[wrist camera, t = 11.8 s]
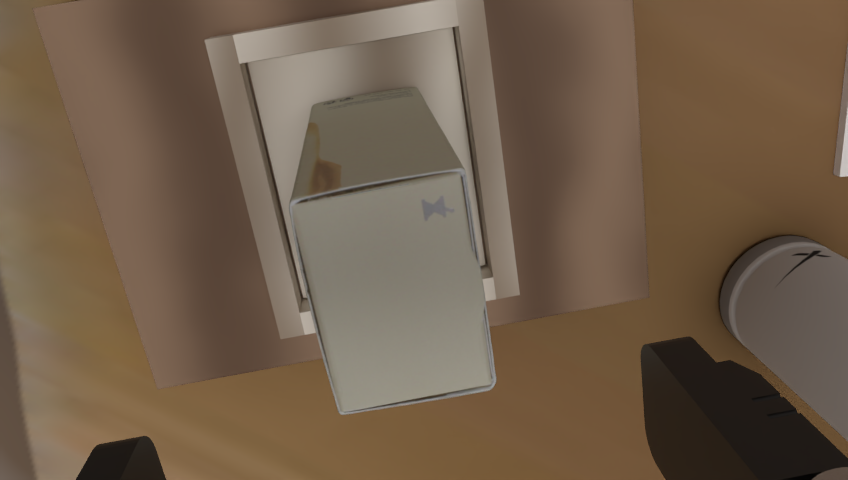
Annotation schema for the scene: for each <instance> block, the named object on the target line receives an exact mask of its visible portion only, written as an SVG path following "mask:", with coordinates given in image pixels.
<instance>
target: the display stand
mask: <svg viewBox="0 0 848 480" xmlns="http://www.w3.org/2000/svg"><path fill="white" fill-rule="evenodd" d="M32 9H33V12H34V15H35V18H36V21H37V24H38V27H39V31H40V34H41V37H42V40H43V43H44V46H45V49H46V52H47V55H48V58H49V61H50V64H51V67H52V70H53V73H54V76H55V79H56V82H57V85H58V88H59V91H60V94H61V97H62V100H63V103H64V106H65V109H66V113H67V116H68V119H69V122H70V125H71V128H72V131H73V134H74V137H75V140H76V143H77V146H78V149H79V152H80V155H81V158H82V161H83V164H84V167H85V170H86V173H87V176H88V179H89V182H90V185H91V188H92V191H93V195H94V198H95V201H96V204H97V207H98V210H99V213H100V216H101V219H102V222H103V225H104V228H105V231H106V234H107V237H108V240H109V243H110V246H111V249H112V252H113V255H114V258H115V261H116V264H117V267H118V270H119V273H120V277H121V280H122V283H123V286H124V289H125V292H126V295H127V298H128V301H129V304H130V307H131V310H132V313H133V316H134V319H135V322H136V325H137V328H138V331H139V334H140V337H141V340H142V343H143V346H144V349H145V352H146V355H147V359H148V362H149V365H150V368H151V371H152V374H153V377H154V380H155V383H156V386H157V389H162V388H167V387H172V386H178V385H183V384H188V383H194V382H199V381H205V380H210V379H215V378H221V377H226V376H231V375H237V374H242V373H247V372H253V371H258V370H263V369H269V368H274V367H279V366H285V365H290V364H296V363H301V362H306V361H312V360H317V359H322V358H323V357H322V353H321V350H320V346H319V343H318V339H317V335H316V331H315V327H314V323H313V319H312V315H311V312H310V308H309V303H308V299H307V296H306V292H305V287H304V283H303V279H302V275H301V270H300V266H299V261H298V256H297V251H296V246H295V240H294V235H293V230H292V224H291V218H290V213H289V202H290V199H291V196H292V192H293V188H294V183H295V179H296V175H297V170H298V166H299V162H300V157H301V153H302V148H303V144H304V139H305V135H306V131H307V127H308V121H309V117H310V113H311V108H312V106H313V105H314V104H318V103H322V102H327V101H331V100H336V99H341V98H346V97H351V96H356V95H362V94H369V93H375V92H382V91H388V90H395V89H402V88H410V87H416V88H418V90H419V91H420V93H421V95H422V96H423V98H424V100H425V102H426V104H427V105H428V107H429V109H430V110H431V112H432V114H433V115H434V117H435V119H436V121H437V123H438V124H439V126H440V128H441V129H442V131H443V133H444V134H445V136H446V138H447V139H448V141H449V143H450V144H451V146H452V148H453V150H454V152H455V153H456V155H457V157H458V158H459V160H460V162H461V164H462V166H463V167H464V169H465V171H466V175H467V182H468V190H469V197H470V201H471V207H472V214H473V221H474V227H475V234H476V241H477V247H478V254H479V260H480V267H481V273H482V280H483V286H484V293H485V300H486V307H487V314H488V321H489V327H494V326H499V325H504V324H510V323H515V322H520V321H526V320H531V319H536V318H542V317H547V316H553V315H558V314H563V313H569V312H574V311H579V310H585V309H590V308H595V307H601V306H606V305H611V304H617V303H622V302H628V301H633V300H638V299H644V298H649V281H648V263H647V245H646V227H645V209H644V192H643V174H642V156H641V138H640V121H639V103H638V85H637V67H636V50H635V32H634V14H633V0H79V1H74V2H68V3H62V4H56V5H50V6H44V7H38V8H32Z"/></svg>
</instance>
